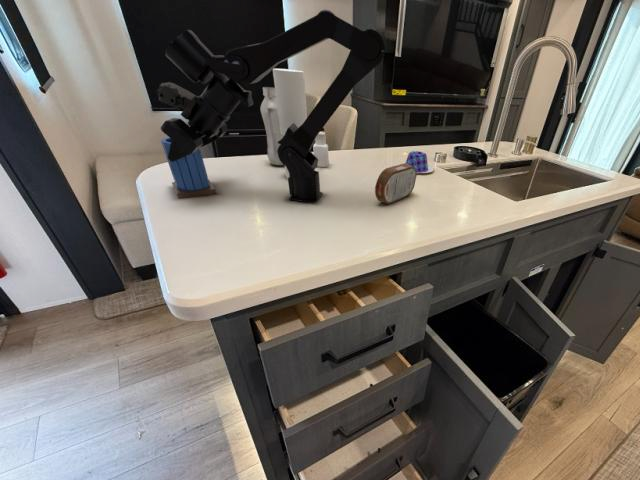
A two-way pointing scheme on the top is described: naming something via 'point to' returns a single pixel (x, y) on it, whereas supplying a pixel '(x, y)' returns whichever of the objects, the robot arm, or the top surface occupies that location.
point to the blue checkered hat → (418, 162)
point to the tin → (395, 183)
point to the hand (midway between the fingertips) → (178, 155)
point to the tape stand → (202, 192)
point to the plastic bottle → (271, 124)
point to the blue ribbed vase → (187, 170)
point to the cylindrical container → (290, 99)
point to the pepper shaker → (321, 150)
